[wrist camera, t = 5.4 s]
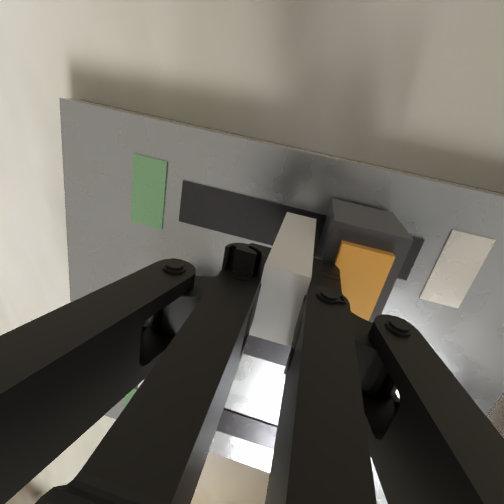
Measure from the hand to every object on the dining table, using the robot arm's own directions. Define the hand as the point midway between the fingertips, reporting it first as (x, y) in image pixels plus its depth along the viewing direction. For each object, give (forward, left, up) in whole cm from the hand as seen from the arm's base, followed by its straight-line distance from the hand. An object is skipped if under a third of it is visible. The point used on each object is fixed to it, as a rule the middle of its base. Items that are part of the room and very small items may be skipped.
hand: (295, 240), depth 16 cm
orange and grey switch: (0, -3, -1) cm, 3 cm away
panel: (-8, 0, -3) cm, 8 cm away
